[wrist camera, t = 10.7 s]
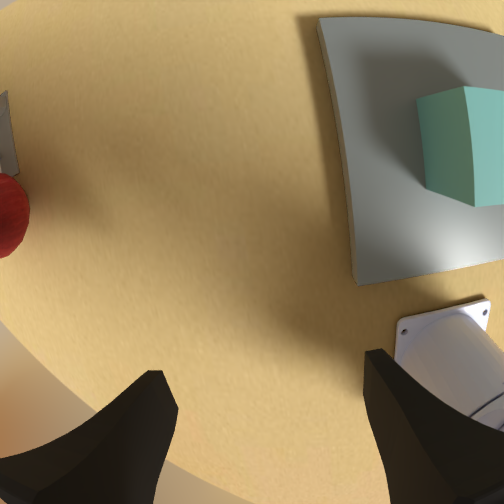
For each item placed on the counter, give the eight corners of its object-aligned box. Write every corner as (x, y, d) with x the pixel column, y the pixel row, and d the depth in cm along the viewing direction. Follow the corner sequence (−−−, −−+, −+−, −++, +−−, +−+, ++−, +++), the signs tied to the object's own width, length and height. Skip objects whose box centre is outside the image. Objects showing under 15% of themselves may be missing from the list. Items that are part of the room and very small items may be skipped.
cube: (491, 184, 15) (544, 199, 10) (425, 189, 15) (474, 207, 11) (483, 102, 13) (537, 97, 8) (415, 98, 14) (463, 86, 9)
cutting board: (519, 246, 17) (531, 252, 16) (352, 275, 19) (357, 286, 17) (502, 42, 13) (513, 38, 11) (315, 27, 14) (319, 18, 13)
